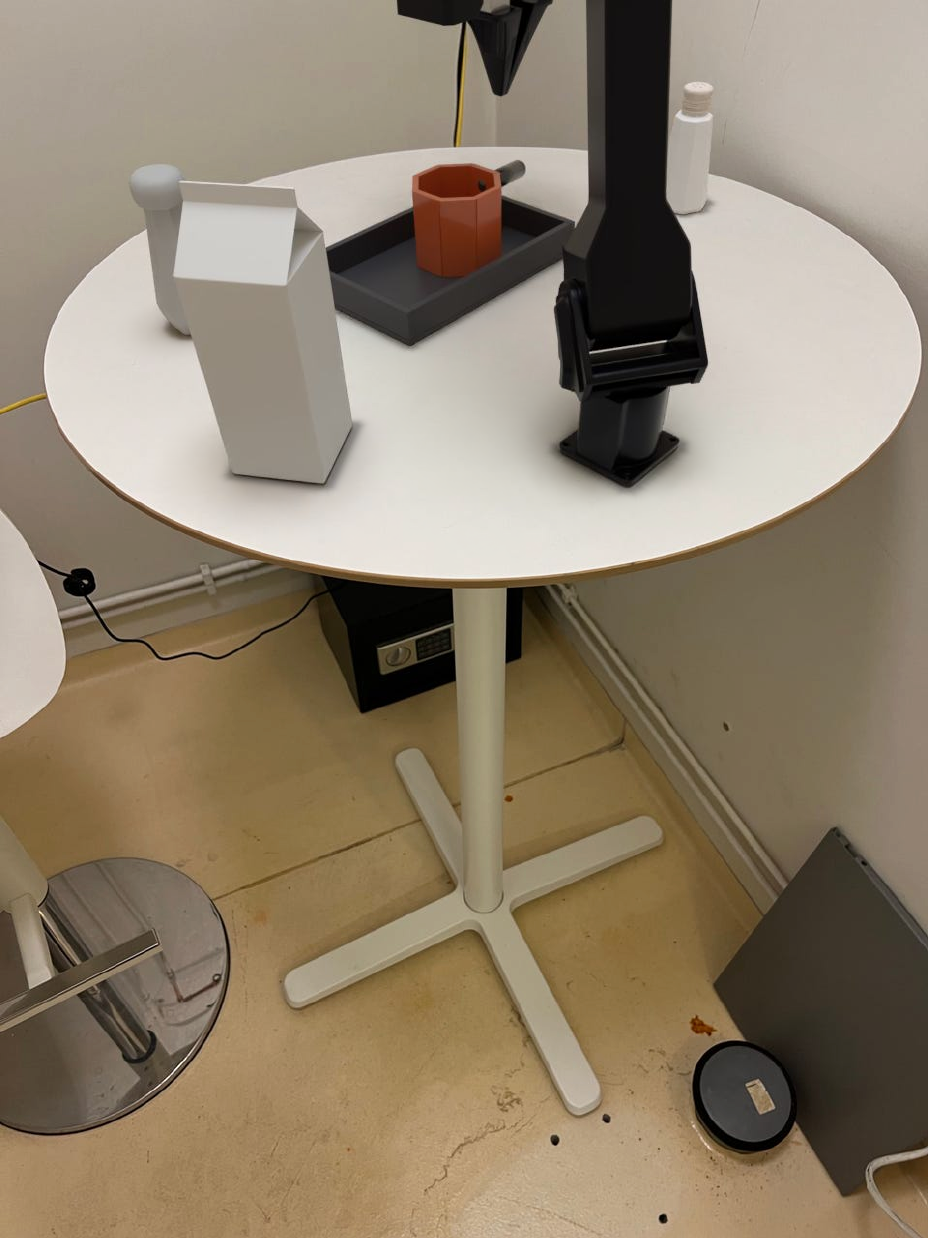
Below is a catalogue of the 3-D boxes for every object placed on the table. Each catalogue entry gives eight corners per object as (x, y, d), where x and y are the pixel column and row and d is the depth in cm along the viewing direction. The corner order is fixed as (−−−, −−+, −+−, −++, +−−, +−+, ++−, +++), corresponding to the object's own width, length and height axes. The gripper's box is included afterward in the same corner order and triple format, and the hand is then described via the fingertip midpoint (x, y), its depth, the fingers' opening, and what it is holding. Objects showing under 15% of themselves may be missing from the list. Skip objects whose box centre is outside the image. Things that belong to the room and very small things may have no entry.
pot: (460, 285, 78) (457, 207, 72) (400, 259, 81) (393, 183, 76) (551, 235, 84) (555, 160, 79) (492, 212, 88) (492, 139, 82)
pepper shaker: (684, 219, 86) (704, 99, 78) (643, 203, 89) (658, 85, 81) (716, 203, 89) (739, 84, 80) (675, 188, 91) (693, 72, 83)
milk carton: (325, 486, 60) (272, 214, 46) (232, 475, 61) (151, 207, 47) (353, 426, 65) (313, 163, 50) (266, 417, 66) (202, 157, 51)
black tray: (409, 345, 72) (407, 313, 70) (302, 291, 79) (296, 260, 76) (573, 252, 82) (575, 220, 80) (466, 211, 89) (465, 181, 87)
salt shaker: (244, 317, 76) (207, 164, 66) (197, 347, 73) (151, 191, 63) (198, 300, 78) (156, 150, 68) (151, 328, 75) (100, 175, 65)
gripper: (503, -165, 71) (502, 51, 83) (336, -132, 62) (361, 103, 74) (610, -155, 66) (592, 74, 78) (444, -118, 57) (452, 133, 69)
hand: (500, 94), depth 75 cm, fingers closed
